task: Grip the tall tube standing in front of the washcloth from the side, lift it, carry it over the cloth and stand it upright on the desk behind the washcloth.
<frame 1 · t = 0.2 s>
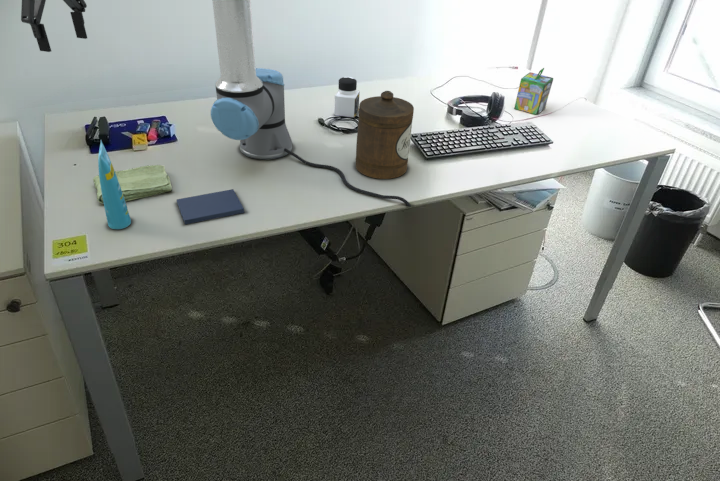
hand: (64, 44, 136), 28 cm above the table, tool pointing down, fingers open, 13 cm apart
washcloth: (134, 188, 133), on the table
tube: (120, 224, 119), on the table
medicine bottle: (346, 113, 180), on the table
notebook: (210, 208, 126), on the table
wooden container: (381, 167, 148), on the table
chalk box: (529, 109, 191), on the table
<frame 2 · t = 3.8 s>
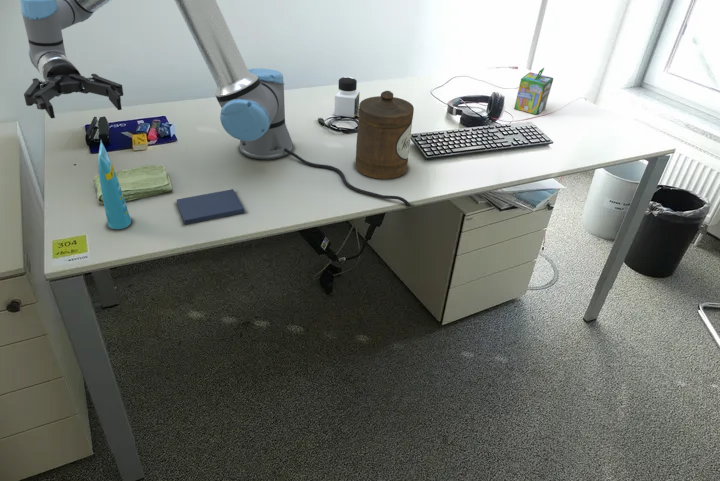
hand: (86, 108, 113), 24 cm above the table, tool horizontal, fingers open, 13 cm apart
nothing on the table moved.
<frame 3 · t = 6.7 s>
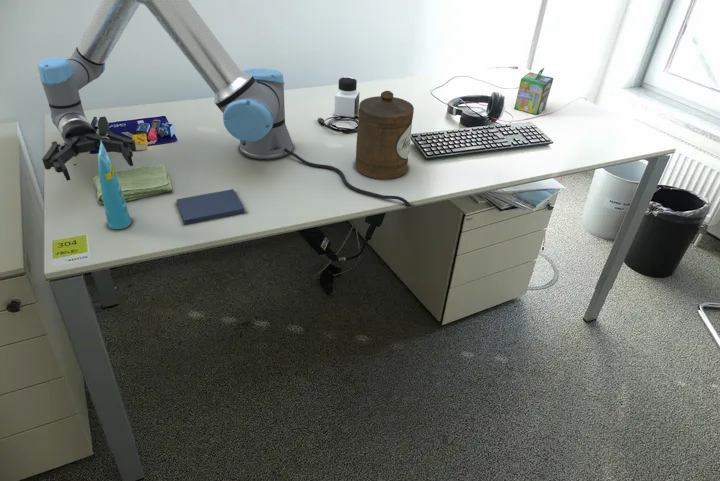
hand: (99, 167, 118), 11 cm above the table, tool horizontal, fingers open, 13 cm apart
nothing on the table moved.
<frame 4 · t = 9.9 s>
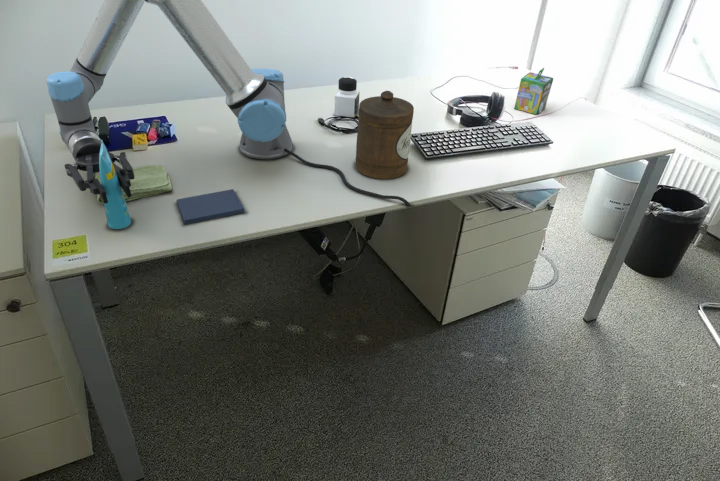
hand: (116, 194, 110), 11 cm above the table, tool horizontal, fingers closed on tube, 4 cm apart
tube: (120, 224, 119), on the table, touching gripper
everything else where it was.
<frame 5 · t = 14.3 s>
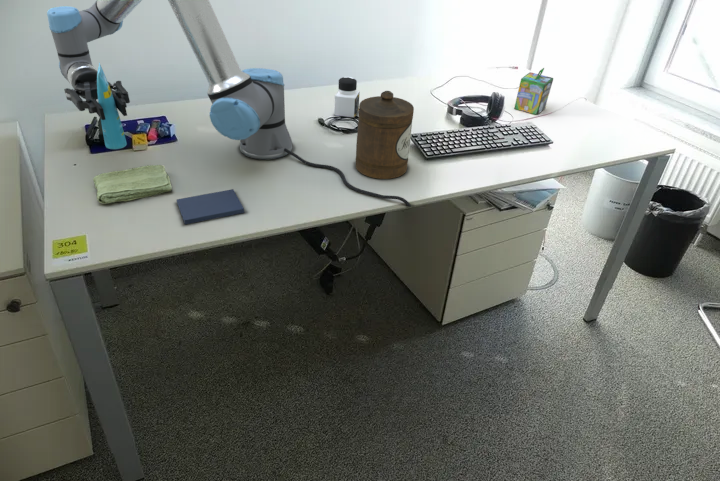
hand: (113, 112, 119), 21 cm above the table, tool horizontal, fingers closed on tube, 4 cm apart
tube: (117, 146, 128), point 10 cm above the table, touching gripper
everything else where it was.
when the fingers open (10 cm above the table, at t = 19.1 s): tube stays where it is, on the table.
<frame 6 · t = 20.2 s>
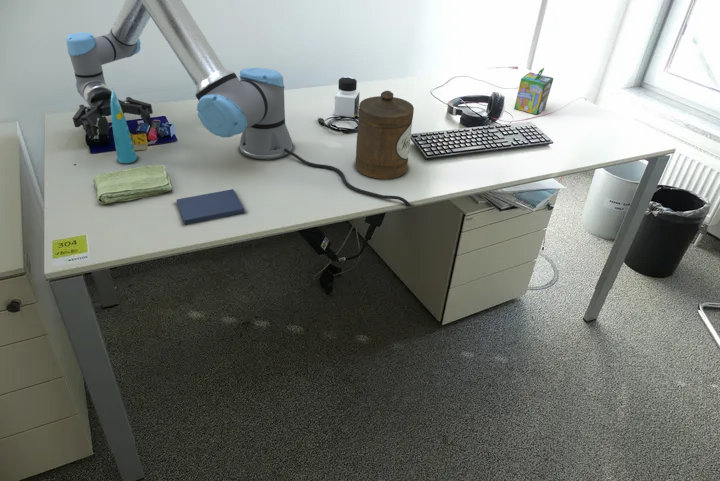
hand: (122, 125, 136), 11 cm above the table, tool horizontal, fingers open, 13 cm apart
tube: (128, 160, 145), on the table
everything else where it was.
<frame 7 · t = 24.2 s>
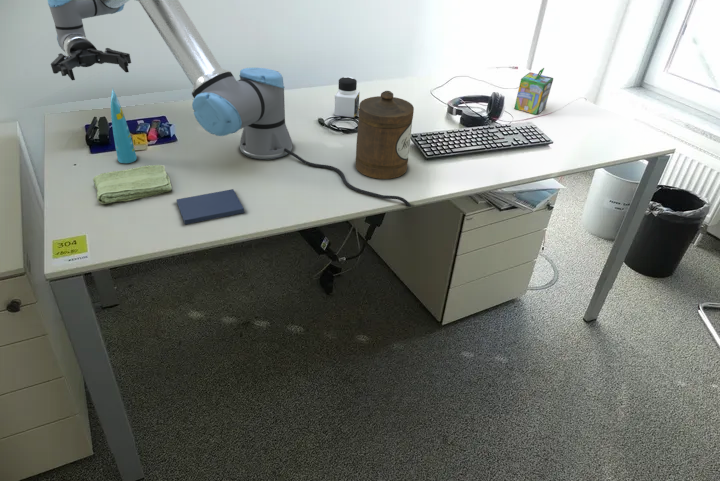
hand: (99, 71, 138), 22 cm above the table, tool horizontal, fingers open, 13 cm apart
nothing on the table moved.
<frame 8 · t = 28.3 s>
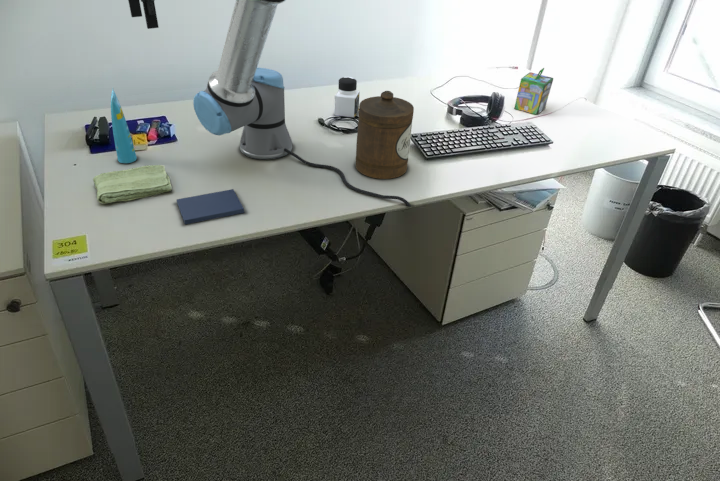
hand: (144, 22, 139), 33 cm above the table, tool pointing down, fingers open, 13 cm apart
nothing on the table moved.
at the end: tube inside the target area on the table beside the washcloth (0.0 cm from its centre), on the table; tube tilted 0°; washcloth moved 0.2 cm from its start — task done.
